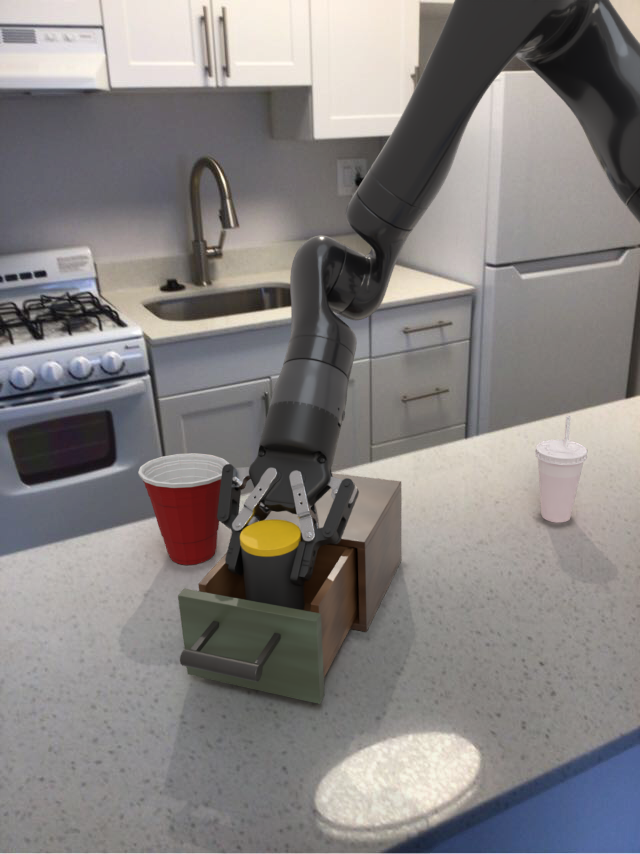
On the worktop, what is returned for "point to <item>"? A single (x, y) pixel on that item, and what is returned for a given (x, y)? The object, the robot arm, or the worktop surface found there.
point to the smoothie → (559, 475)
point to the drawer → (270, 629)
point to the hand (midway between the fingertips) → (265, 578)
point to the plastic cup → (185, 503)
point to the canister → (271, 563)
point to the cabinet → (367, 539)
